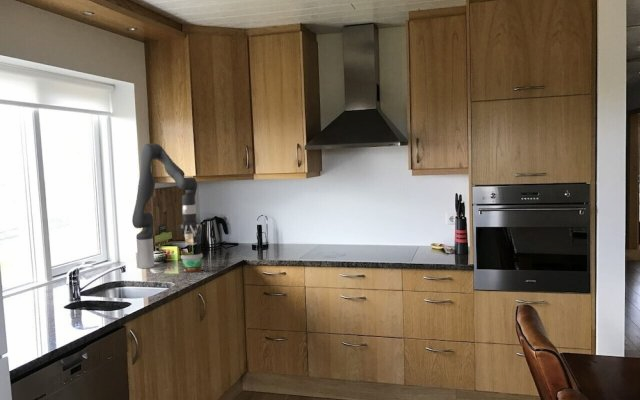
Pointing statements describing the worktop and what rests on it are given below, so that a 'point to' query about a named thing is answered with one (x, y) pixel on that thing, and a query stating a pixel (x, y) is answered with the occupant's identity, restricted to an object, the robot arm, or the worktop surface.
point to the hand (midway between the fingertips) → (191, 242)
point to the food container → (192, 263)
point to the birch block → (189, 239)
